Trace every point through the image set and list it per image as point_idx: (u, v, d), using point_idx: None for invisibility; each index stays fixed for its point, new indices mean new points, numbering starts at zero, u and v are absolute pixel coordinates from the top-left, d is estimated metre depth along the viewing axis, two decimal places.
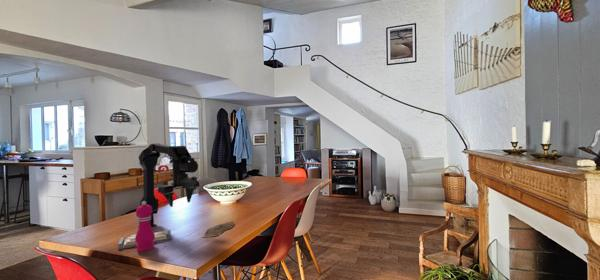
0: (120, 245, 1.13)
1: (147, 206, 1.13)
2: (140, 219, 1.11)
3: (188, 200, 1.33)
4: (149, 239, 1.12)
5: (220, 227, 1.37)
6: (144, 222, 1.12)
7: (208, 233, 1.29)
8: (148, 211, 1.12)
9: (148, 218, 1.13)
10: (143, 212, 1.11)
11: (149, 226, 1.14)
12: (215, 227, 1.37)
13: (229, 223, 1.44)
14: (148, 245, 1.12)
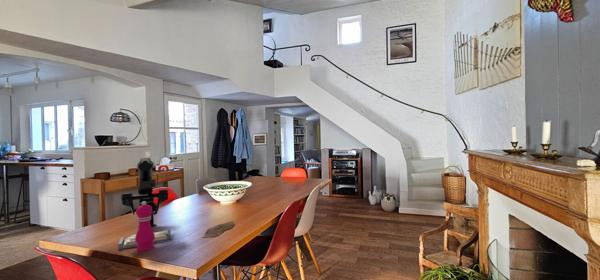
0: (120, 245, 1.13)
1: (147, 206, 1.13)
2: (140, 219, 1.11)
3: (157, 209, 1.23)
4: (149, 239, 1.12)
5: (220, 227, 1.37)
6: (144, 222, 1.12)
7: (208, 233, 1.29)
8: (148, 211, 1.12)
9: (148, 218, 1.13)
10: (143, 212, 1.11)
11: (149, 226, 1.14)
12: (215, 227, 1.37)
13: (229, 223, 1.44)
14: (148, 245, 1.12)
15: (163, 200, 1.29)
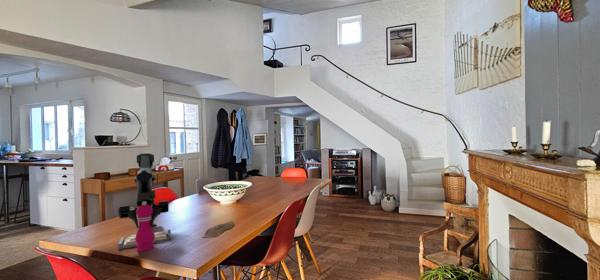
0: (120, 245, 1.13)
1: (147, 206, 1.13)
2: (140, 219, 1.11)
3: (151, 223, 1.14)
4: (149, 239, 1.12)
5: (220, 227, 1.37)
6: (144, 222, 1.12)
7: (208, 233, 1.29)
8: (149, 211, 1.12)
9: (148, 218, 1.13)
10: (143, 212, 1.11)
11: (149, 226, 1.14)
12: (215, 227, 1.37)
13: (229, 223, 1.44)
14: (148, 245, 1.12)
15: (158, 213, 1.20)
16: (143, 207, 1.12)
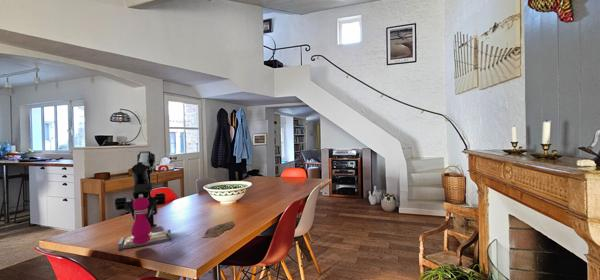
0: (120, 245, 1.13)
1: (144, 199, 1.13)
2: (137, 212, 1.11)
3: (147, 215, 1.14)
4: (145, 232, 1.11)
5: (220, 227, 1.37)
6: (141, 215, 1.11)
7: (208, 233, 1.29)
8: (145, 203, 1.12)
9: (145, 211, 1.12)
10: (140, 205, 1.10)
11: (146, 219, 1.13)
12: (215, 227, 1.37)
13: (229, 223, 1.44)
14: (144, 238, 1.11)
15: (155, 205, 1.20)
16: (140, 200, 1.11)
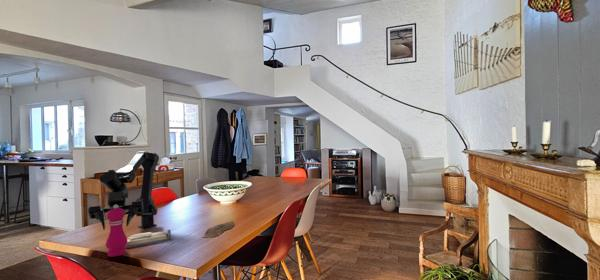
0: None
1: (119, 209, 1.08)
2: (111, 223, 1.07)
3: None
4: (120, 244, 1.07)
5: (220, 227, 1.37)
6: (115, 226, 1.07)
7: (208, 233, 1.29)
8: (120, 214, 1.08)
9: (120, 222, 1.08)
10: (114, 216, 1.06)
11: (121, 230, 1.09)
12: (215, 227, 1.37)
13: (229, 223, 1.44)
14: (119, 250, 1.07)
15: (135, 213, 1.16)
16: (114, 211, 1.07)
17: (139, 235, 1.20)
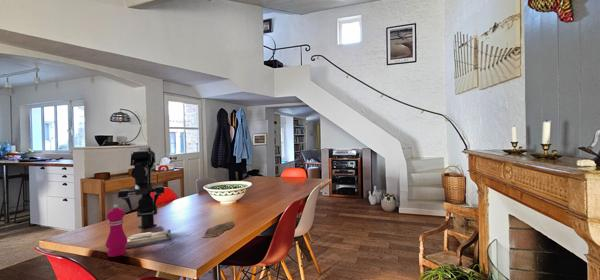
0: None
1: (119, 209, 1.08)
2: (111, 223, 1.07)
3: (153, 206, 1.29)
4: (120, 244, 1.07)
5: (220, 227, 1.37)
6: (115, 226, 1.07)
7: (208, 233, 1.29)
8: (120, 214, 1.08)
9: (120, 222, 1.08)
10: (114, 216, 1.06)
11: (121, 230, 1.09)
12: (215, 227, 1.37)
13: (229, 223, 1.44)
14: (119, 250, 1.07)
15: None
16: (114, 211, 1.07)
17: (139, 235, 1.20)
